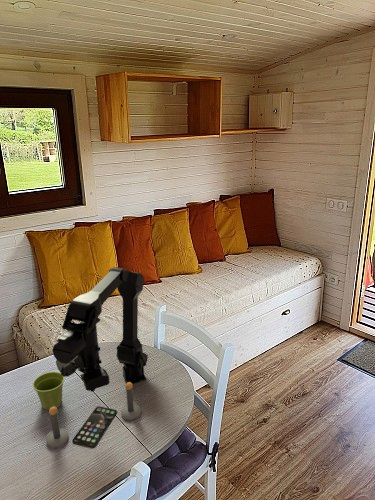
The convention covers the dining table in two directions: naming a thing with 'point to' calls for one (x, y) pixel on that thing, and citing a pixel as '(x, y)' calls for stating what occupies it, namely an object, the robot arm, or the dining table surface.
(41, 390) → the plant pot
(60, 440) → the stand
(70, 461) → the dining table surface
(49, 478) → the dining table surface
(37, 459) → the dining table surface
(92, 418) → the smartphone
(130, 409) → the stand inner
